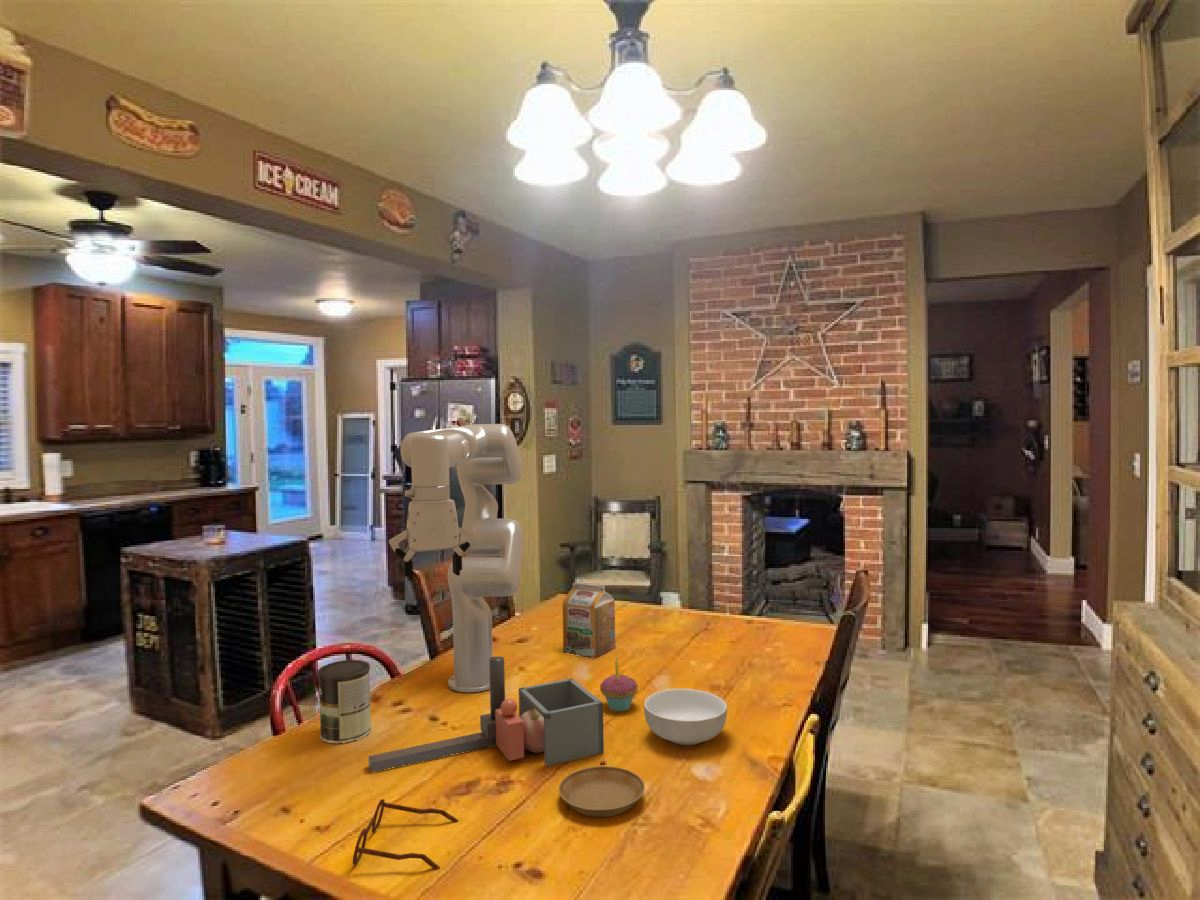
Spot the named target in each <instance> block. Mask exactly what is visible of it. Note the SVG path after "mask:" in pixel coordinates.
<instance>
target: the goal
mask: <svg viewBox="0 0 1200 900" xmlns="http://www.w3.org/2000/svg"><path fill="white" fill-rule="evenodd" d="M532 709H535V710H536V711H537V712H538V713H539V714H540V715H541V716H542V717H544V752H543V753H544V766H545V767H550V766H556V765H559V764H562V763H567V762H571V761H575V759H576V760H580V759H583V757H584V758H589V757H592V756H596V755H599V754H600V753H601V754H604V753H605V751H604V750H605V749H604V743H605V742H604V702H603V701H602V700H600V699H599V698H597V697H596V696H595V695H594V694H593V693H591V692H590V691H589V690H587V689H586V687H584V686H582V684H580V683H578V681H576V680H575V679H574V678H571V677H570V678H567V679H562V680H555V681H551V682H545V683H540V684H534V685H529V686H524V687H519V688H518V711H519V713H518V716H519V717H521V715H522V714H523V713H525V712H526V711H528V710H532Z"/></svg>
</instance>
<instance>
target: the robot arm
mask: <svg viewBox="0 0 1200 900" xmlns="http://www.w3.org/2000/svg"><path fill="white" fill-rule="evenodd" d="M516 441H517V440H516V438H515V436H514V433H513V431H512V430H511V429H510V427H509V426H508V425H506V424H503V423H479V424H478V423H476V424H474V423H472V424H466V425H462V426H461V425H460V426H459V425H458V426H453V427H444V428H440V429H439V428H438V429H432V430H429V429H428V430H423V431H422V430H421V431H420V430H419V431H414V432H410V433H409V432H408V434H406V435H405V436H404V438H403V439H402V441H401V443H400V457H401V459H402V461H403V463H404V464H405V465H406V466H407V467H409V468H411V487H410V488H409V489H406V490H404V497H408V498H410V499H411V500H412V501H409V503H408V508H407V514H406V515H407V516H406V517H407V518H406V530H404V531H402V532H400V533H399V534H397V535H396V536H394V537H392V538H390V539H389V540H388V543H389V545H390V547H391V549H392V550H393V552H394V553H395V554H396V555H397V556H398V557H399V558H401V559H402V560H403V562H402V563H403V564H402V565H403V577H406V579H407V580H408V581H409V582H410V581H413V580H414V566H413V565H414V564H413V561H412V558H413V556H414V554H416V553H422V552H432V551H434V552H435V551H443V550H452V551H453V555H452V562H451V563H450V564H449V566H448V570H447V582H448V587H449V591H450V598H451V607H452V608H451V609H452V635H453V637H452V639H453V640H452V641H453V673H454V674H453V676H451V677H450V678H449V679H448V682H447V685H448V688H449V689H450V690H452V691H455V692H459V693H478V692H485V691H487V690H490V669H489V659H490V658H491V657H494V653H493V652H494V651H493V621H492V617H493V616H492V610H491V608H490V606H489V604H488V603H487V602H486V600H485V598H484V597H509V596H513V595H515V594H516V593H517V591H518V589H519V588H518V587H519V584H520V577H521V568H522V557H523V550H524V549H523V548H524V531H523V527H522V525H521V523H520V522H519V521H518V520H516V519H514V518H498V510H499V504H498V502H497V500H496V498H495V497H494V496H493V494H492V493H491V492H490V491H489V490H488V489H487V488H486V486H485V485H513V484H516V483H518V482H519V481H520V480H521V479H522V475H523V471H524V469H523V461H522V457H521V454H520V451H519V447H518V443H517V442H516ZM450 468H456V472H457V473H456V474H457V479H458V482H459V485H460V489H461V492H462V494H463V498H464V513H463V519H462V525H461V527H460V526H459V522H458V515H457V514H458V513H457V509H456V503H455V500H454V499H451V498H450V497H451V490H450ZM403 541H406V542H405V543H406V549H405V550H404V551H403V550H402V549H401V547H400V546H399V544H400V543H401V542H403ZM459 544H460V545H459ZM464 554H466V555H468V556H465V557H464Z"/></svg>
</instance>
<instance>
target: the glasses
mask: <svg viewBox="0 0 1200 900" xmlns="http://www.w3.org/2000/svg"><path fill="white" fill-rule="evenodd" d="M385 808H387V809H392V810H396V811H403V812H407V813H408V812H409V813H414V814H420V815H422V814H423V815H424V814H425V815H426V814H438V815H439V814H440V815H441V816H443V817H444V818H446V819H447V820H449V821H450V822H452V823H458V822H459V819H458V818H456V817H454V816H453V815H451V813H449V812H447V811H446V810H444V809H439V808H417V807H412V806H405V805H400V804H395V803H390V802H385V799H384V798H383V799H382V798H381V799H380V800H379V801H378V803H377V806H376V808H375V811H374V815H373V817H371V820H370V822H369V823H368V825H367V827H366V828H362V830H361V832H360V834H359V836H358V838H357V841H356V843H355V847H354V852H353V857H352V865H354V866H357V865H358V864H357V863H359V862H360V860H361V858H362V856H363V854H364V855H370V856H376V857H381V858H385V859H391V860H398V861H401V860H406V859H421V860H422V861H423V862H424V863H426V864H427V865H428V866H429V867H431V868H432V869H433V870H440V869H441V867H440V866H439V865H438V864H437V863H435V862H434V861H433V860H431V858H429V857H428V856H427V855H426V854H425V853H424V854H423V853H417V852H415V853H414V852H410V853H409V852H408V853H404V854H403V853H402V854H398V853H392V852H388V851H383V850H382V851H381V850H376V849H371V848H367V847H366V842H367V837H368V834H369V832H370V830H371V832H372V833H376V832H377V830H378V829H377V827H378V826H379V827H380V825H381V822H382V818H383V813H384V811H385V810H384V809H385ZM379 810H380V812H379ZM378 814H379V816H378ZM377 817H378V819H377ZM379 827H378V828H379ZM376 829H377V830H376ZM375 831H376V832H375ZM361 841H362V842H361ZM361 843H362V844H361ZM360 845H361V847H360ZM359 859H360V860H359ZM358 861H359V862H358ZM356 864H357V865H356Z"/></svg>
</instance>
